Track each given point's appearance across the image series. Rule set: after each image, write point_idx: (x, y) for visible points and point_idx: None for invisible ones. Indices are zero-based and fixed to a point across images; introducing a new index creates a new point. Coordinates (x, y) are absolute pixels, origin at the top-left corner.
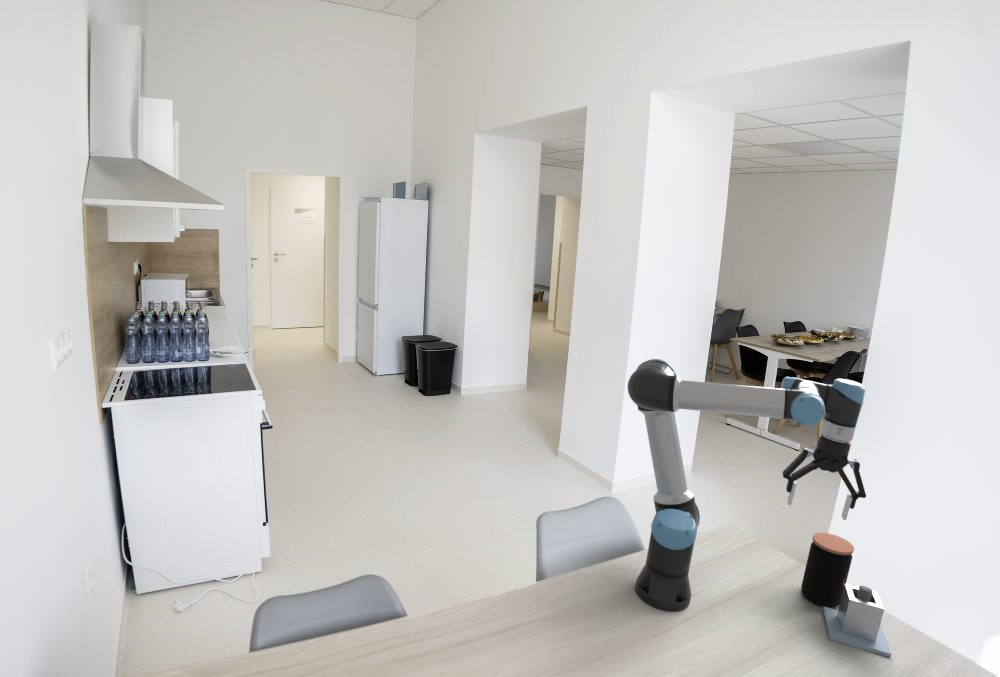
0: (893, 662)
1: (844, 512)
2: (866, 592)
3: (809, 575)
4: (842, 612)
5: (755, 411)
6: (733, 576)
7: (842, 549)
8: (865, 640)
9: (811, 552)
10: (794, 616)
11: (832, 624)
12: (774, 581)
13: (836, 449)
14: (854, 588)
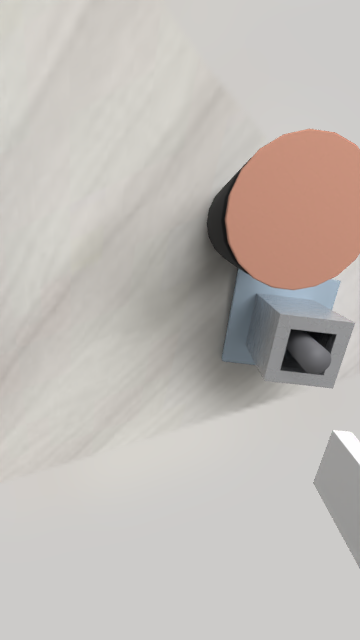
0: None
1: (342, 522)
2: (311, 373)
3: (215, 241)
4: (256, 333)
5: None
6: (65, 210)
7: (314, 266)
8: None
9: (219, 227)
10: (174, 313)
11: (237, 325)
12: (156, 191)
13: None
14: (297, 328)
